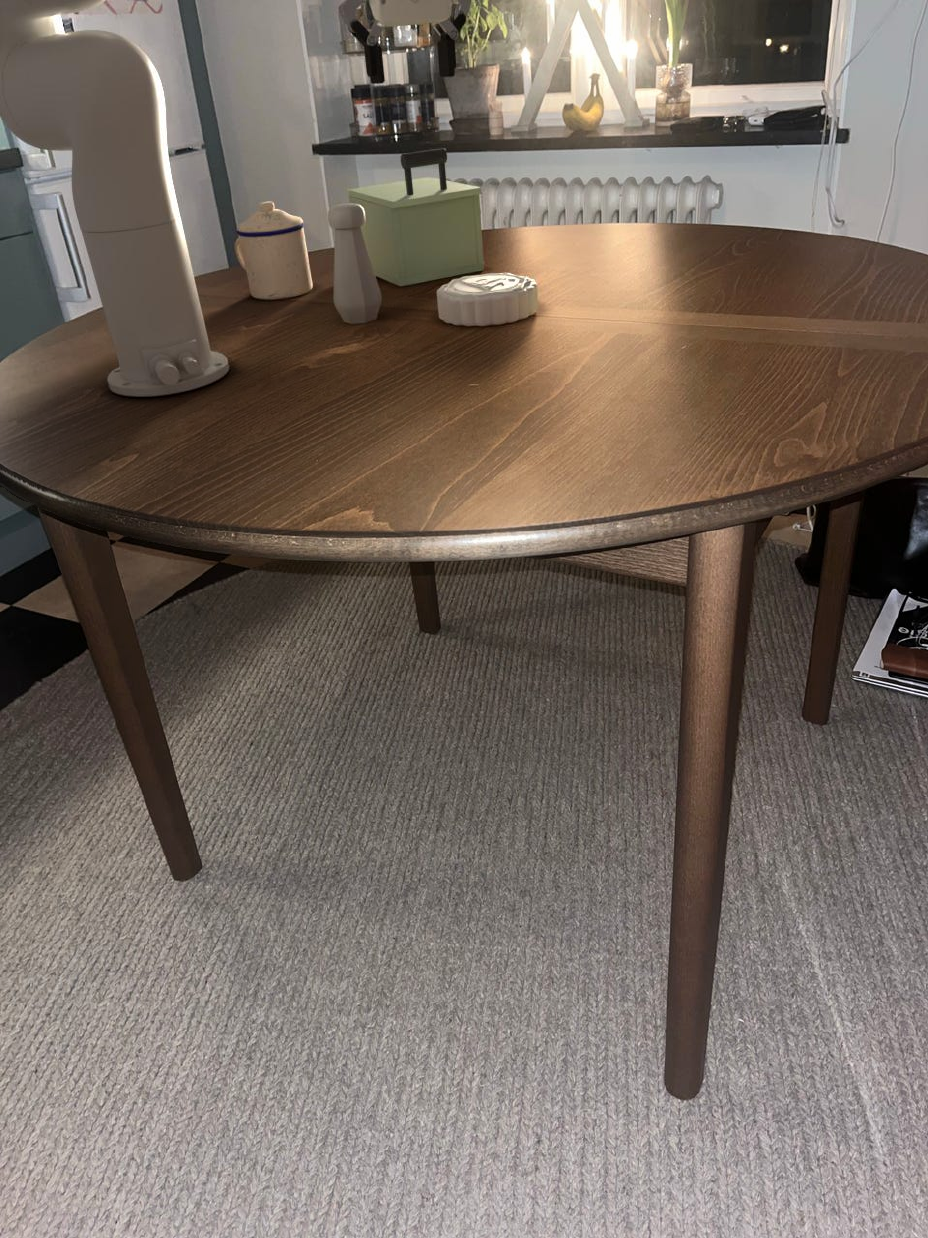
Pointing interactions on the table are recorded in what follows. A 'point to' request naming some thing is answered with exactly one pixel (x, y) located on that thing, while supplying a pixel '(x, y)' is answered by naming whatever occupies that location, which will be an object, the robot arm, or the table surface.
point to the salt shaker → (353, 266)
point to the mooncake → (487, 299)
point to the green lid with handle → (416, 184)
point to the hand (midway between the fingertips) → (412, 79)
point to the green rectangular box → (423, 239)
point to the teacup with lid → (274, 254)
